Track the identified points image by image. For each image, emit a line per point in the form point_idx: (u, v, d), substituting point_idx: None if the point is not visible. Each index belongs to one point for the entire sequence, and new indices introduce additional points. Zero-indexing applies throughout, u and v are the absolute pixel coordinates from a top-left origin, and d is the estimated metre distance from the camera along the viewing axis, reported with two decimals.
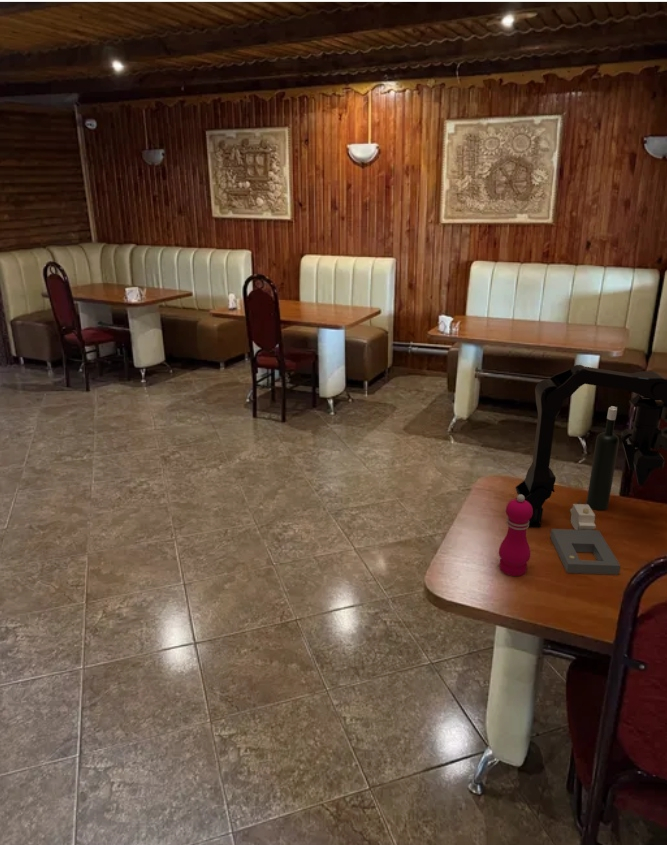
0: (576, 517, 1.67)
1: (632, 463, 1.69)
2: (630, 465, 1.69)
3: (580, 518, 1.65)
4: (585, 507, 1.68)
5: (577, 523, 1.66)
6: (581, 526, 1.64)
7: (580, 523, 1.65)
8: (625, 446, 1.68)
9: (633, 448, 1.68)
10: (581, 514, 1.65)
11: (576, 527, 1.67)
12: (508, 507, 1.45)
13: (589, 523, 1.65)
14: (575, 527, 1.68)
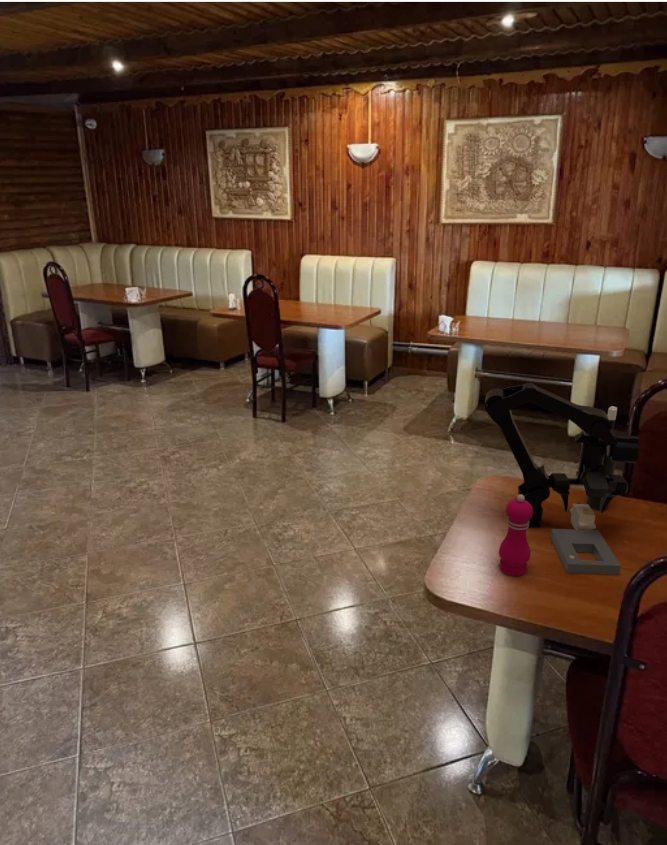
0: (576, 517, 1.67)
1: (601, 505, 1.66)
2: (600, 506, 1.67)
3: (580, 518, 1.65)
4: (585, 507, 1.68)
5: (577, 523, 1.66)
6: (581, 526, 1.64)
7: (580, 523, 1.65)
8: None
9: None
10: (581, 514, 1.65)
11: (576, 527, 1.67)
12: (508, 507, 1.45)
13: (589, 523, 1.65)
14: (575, 527, 1.68)
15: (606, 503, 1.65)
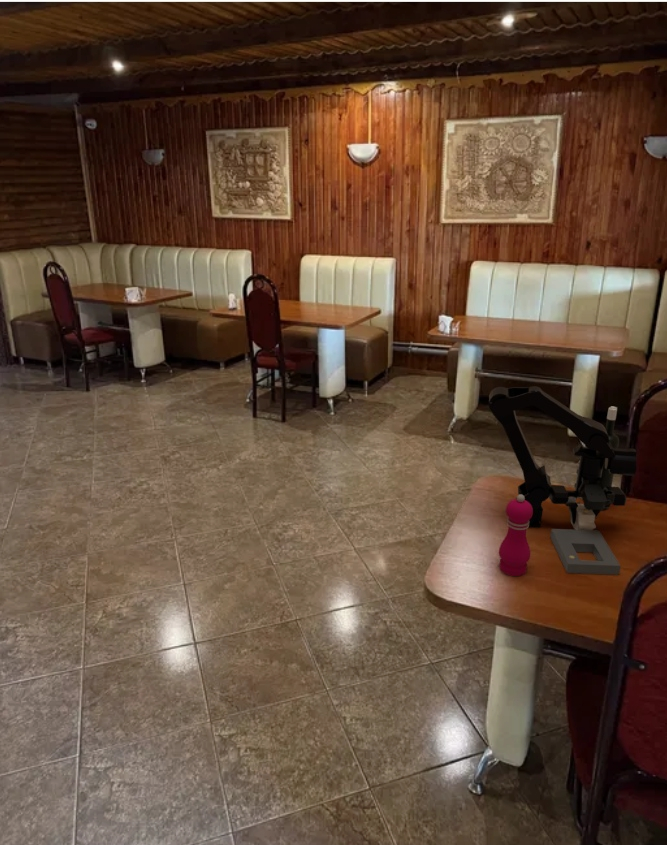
0: (576, 517, 1.67)
1: None
2: None
3: (580, 518, 1.65)
4: None
5: (577, 523, 1.66)
6: (581, 526, 1.64)
7: (580, 523, 1.65)
8: None
9: None
10: (581, 514, 1.65)
11: (576, 527, 1.67)
12: (508, 507, 1.45)
13: (589, 523, 1.65)
14: (575, 527, 1.68)
15: (595, 515, 1.66)
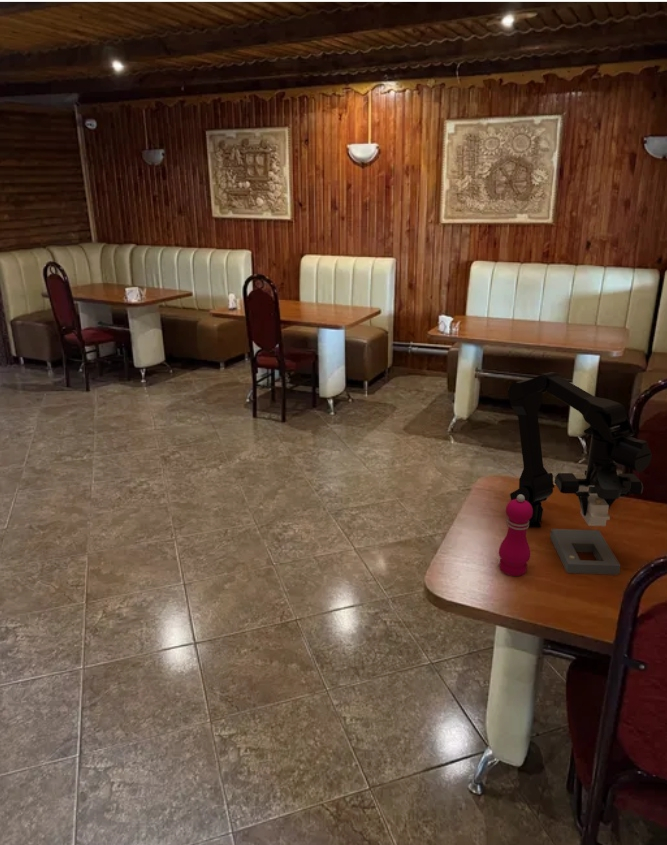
0: (587, 508, 1.50)
1: None
2: None
3: (592, 509, 1.48)
4: (597, 496, 1.51)
5: (589, 514, 1.49)
6: (593, 517, 1.47)
7: (592, 514, 1.48)
8: None
9: None
10: (593, 504, 1.48)
11: (587, 519, 1.50)
12: (508, 507, 1.45)
13: (602, 514, 1.48)
14: (586, 519, 1.51)
15: None
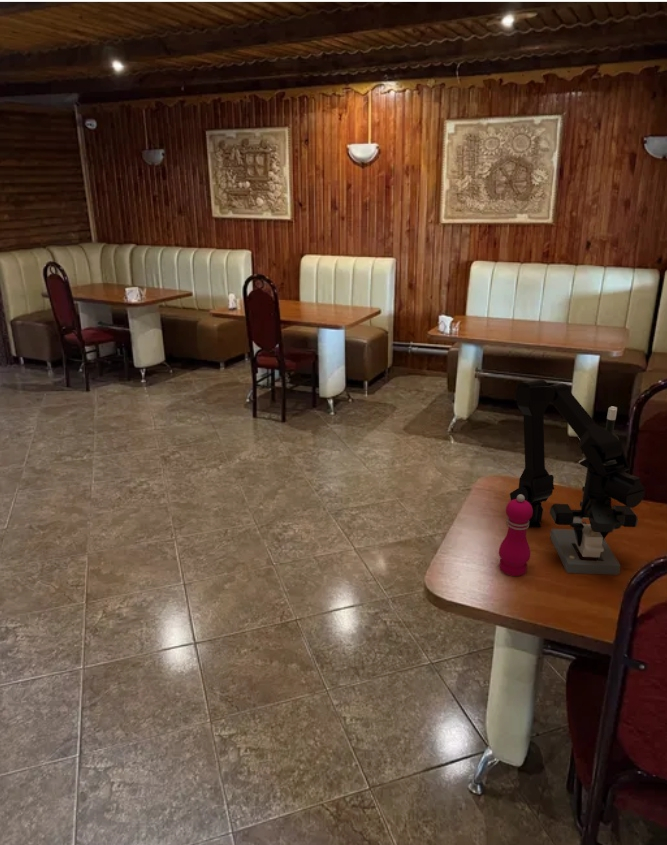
0: (582, 539, 1.51)
1: None
2: None
3: (586, 540, 1.49)
4: None
5: (583, 545, 1.50)
6: (587, 549, 1.48)
7: (586, 546, 1.49)
8: None
9: None
10: (587, 536, 1.49)
11: (582, 550, 1.51)
12: (508, 507, 1.45)
13: (596, 546, 1.49)
14: (581, 550, 1.52)
15: (603, 536, 1.50)
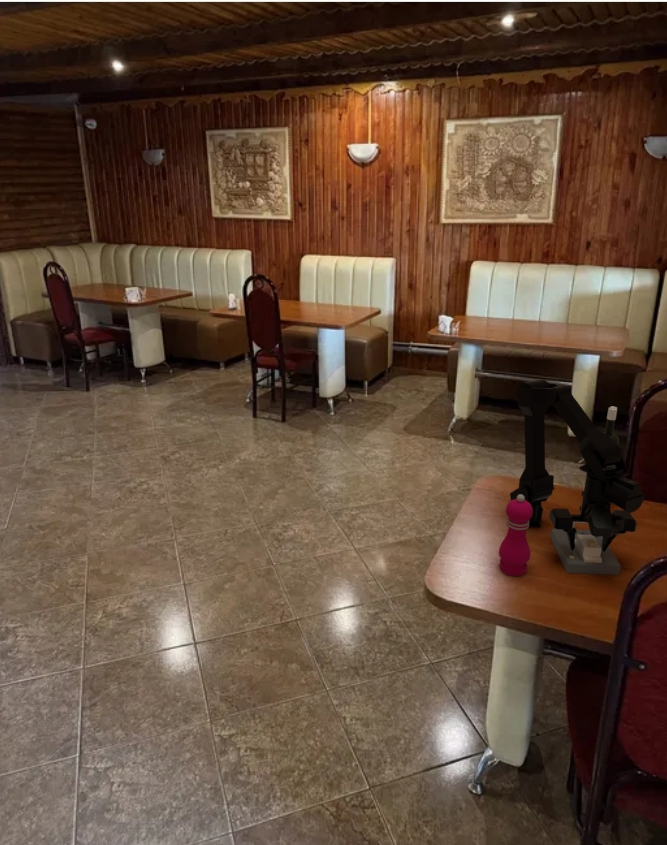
0: (580, 549, 1.52)
1: (603, 543, 1.52)
2: (602, 544, 1.53)
3: (585, 551, 1.50)
4: (590, 538, 1.53)
5: (581, 556, 1.51)
6: (586, 560, 1.49)
7: (585, 556, 1.50)
8: None
9: None
10: (586, 547, 1.50)
11: None
12: (508, 507, 1.45)
13: (595, 556, 1.50)
14: None
15: (609, 541, 1.51)
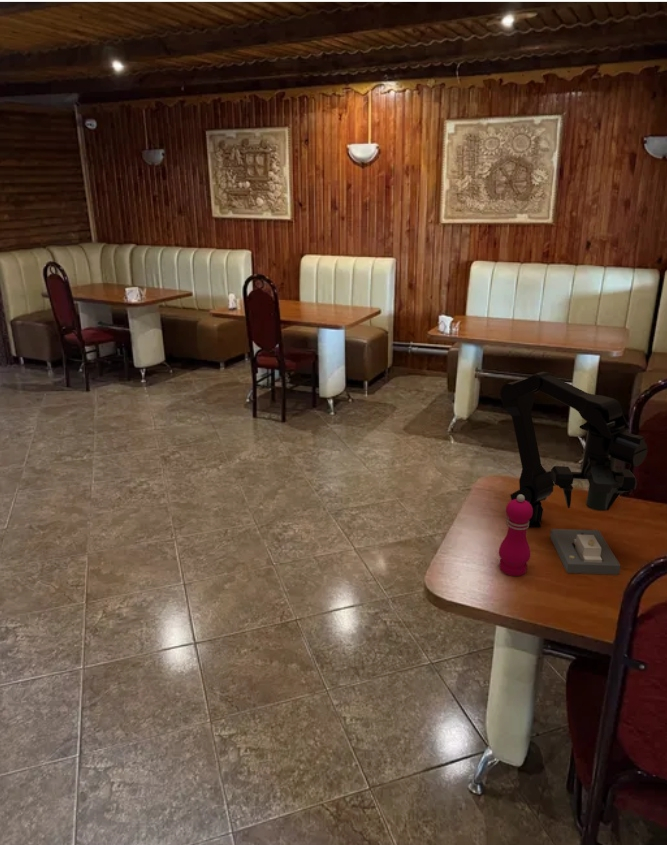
0: (580, 549, 1.52)
1: (607, 501, 1.54)
2: (606, 503, 1.55)
3: (585, 551, 1.50)
4: (590, 538, 1.53)
5: (581, 556, 1.51)
6: (586, 560, 1.49)
7: (585, 556, 1.50)
8: None
9: None
10: (586, 547, 1.50)
11: None
12: (508, 507, 1.45)
13: (595, 556, 1.50)
14: None
15: (612, 499, 1.52)
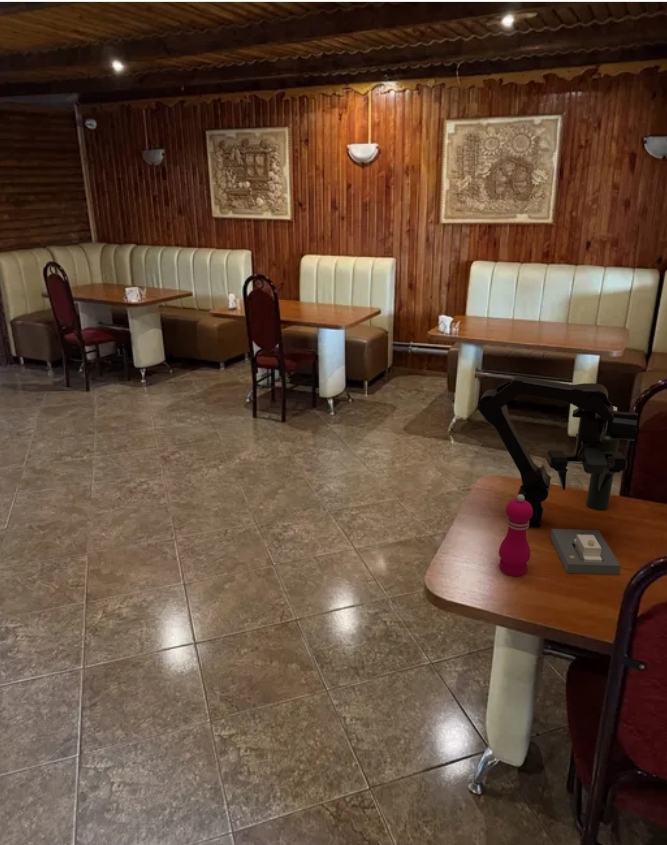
0: (580, 549, 1.52)
1: (600, 483, 1.62)
2: (598, 484, 1.63)
3: (585, 551, 1.50)
4: (590, 538, 1.53)
5: (581, 556, 1.51)
6: (586, 560, 1.49)
7: (585, 556, 1.50)
8: None
9: None
10: (586, 547, 1.50)
11: None
12: (508, 507, 1.45)
13: (595, 556, 1.50)
14: None
15: (605, 481, 1.61)
